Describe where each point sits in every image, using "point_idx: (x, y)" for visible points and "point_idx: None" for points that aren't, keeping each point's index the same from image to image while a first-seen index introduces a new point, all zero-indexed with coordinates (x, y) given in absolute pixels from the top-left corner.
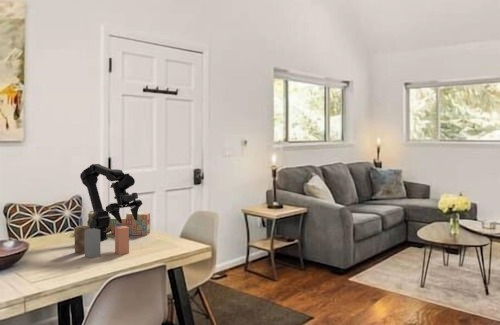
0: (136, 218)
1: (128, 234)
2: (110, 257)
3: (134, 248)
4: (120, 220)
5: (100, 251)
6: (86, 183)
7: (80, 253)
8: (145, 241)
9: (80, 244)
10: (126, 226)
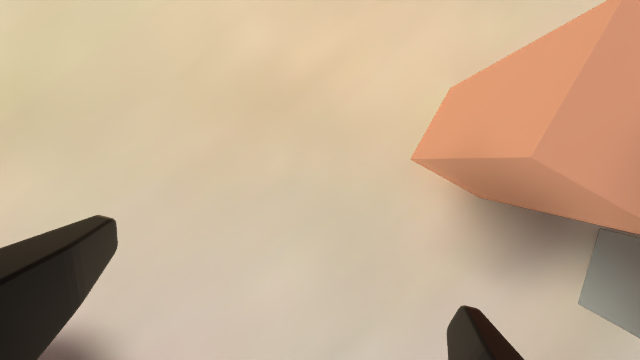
0: (89, 228)
1: (550, 38)
2: None
3: (315, 144)
4: (507, 344)
5: (629, 236)
6: None
7: None
8: (88, 213)
9: None
10: (573, 87)
